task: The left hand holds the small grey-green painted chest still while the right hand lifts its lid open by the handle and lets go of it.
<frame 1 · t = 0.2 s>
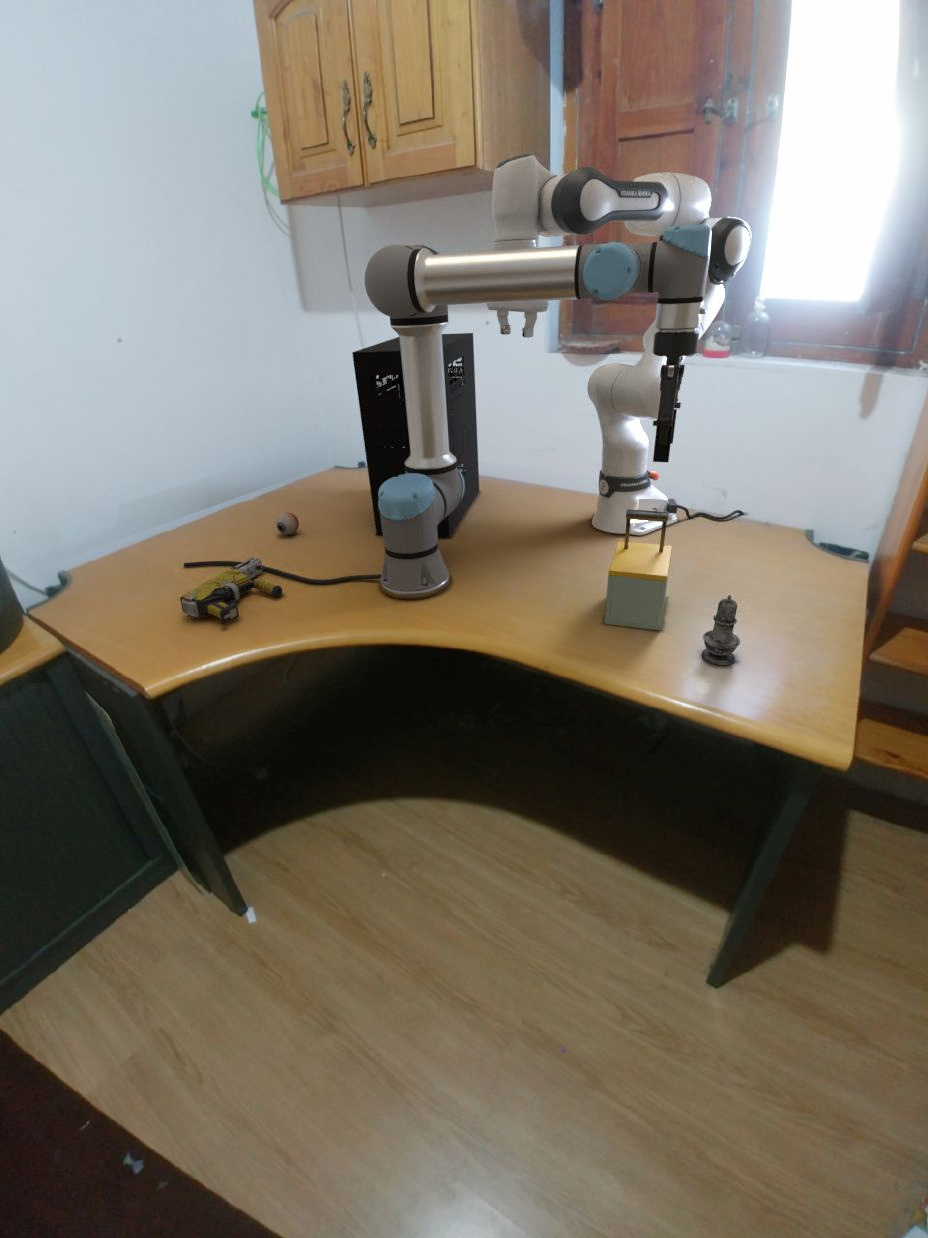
left hand: (663, 452, 116), 28 cm above the table, tool pointing down, fingers open, 13 cm apart
right hand: (516, 335, 125), 48 cm above the table, tool pointing down, fingers open, 8 cm apart
lid: (643, 540, 112), point 15 cm above the table, hinge at 0.0°
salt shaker: (717, 657, 104), on the table
chest: (635, 610, 120), on the table
yellow angle grinder: (246, 598, 133), on the table
eyeball: (289, 534, 165), on the table
black computer tower: (431, 512, 175), on the table
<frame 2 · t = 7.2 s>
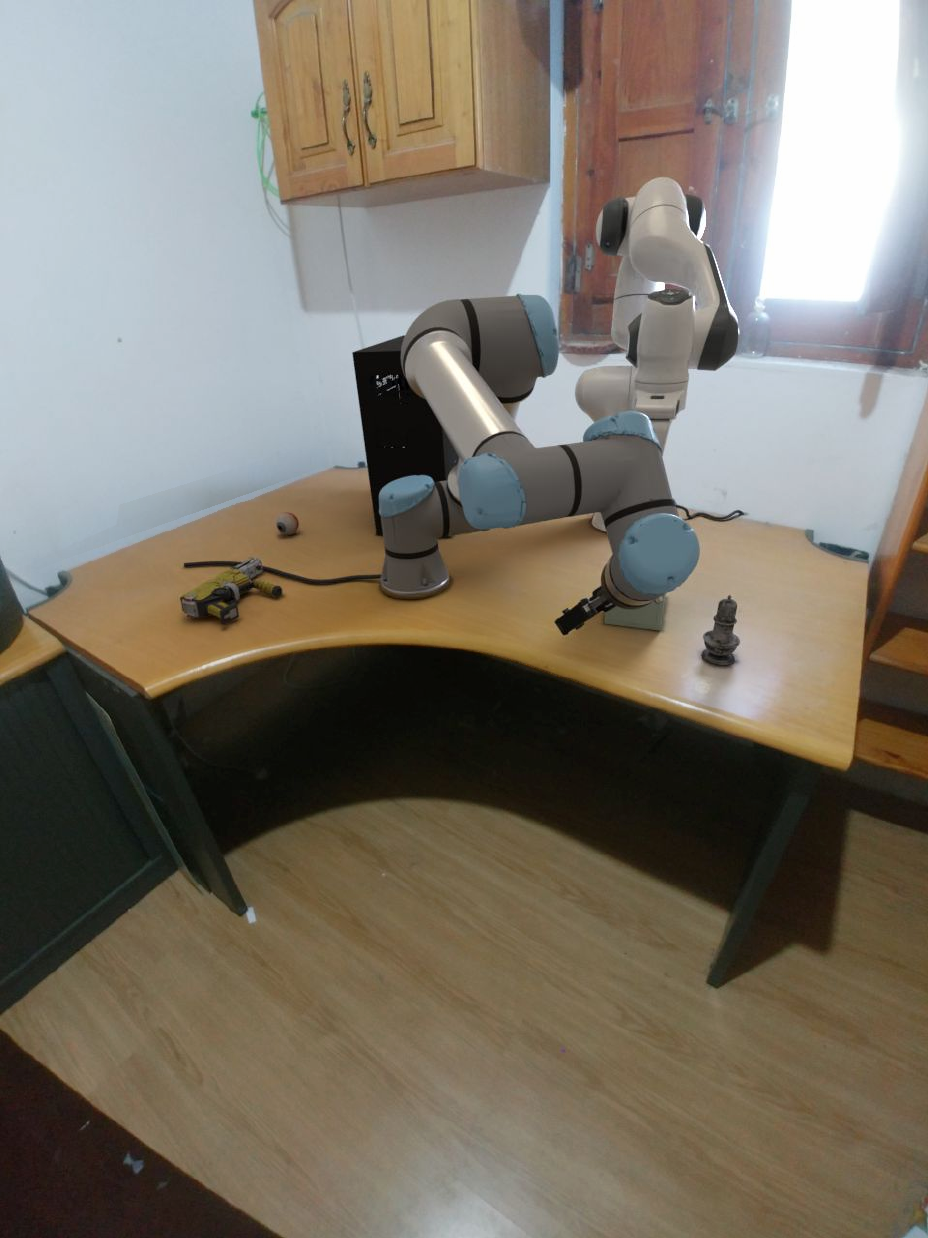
left hand: (611, 599, 95), 14 cm above the table, tool tilted 55°, fingers open, 13 cm apart
right hand: (650, 477, 110), 26 cm above the table, tool pointing down, fingers open, 8 cm apart
nothing on the table moved.
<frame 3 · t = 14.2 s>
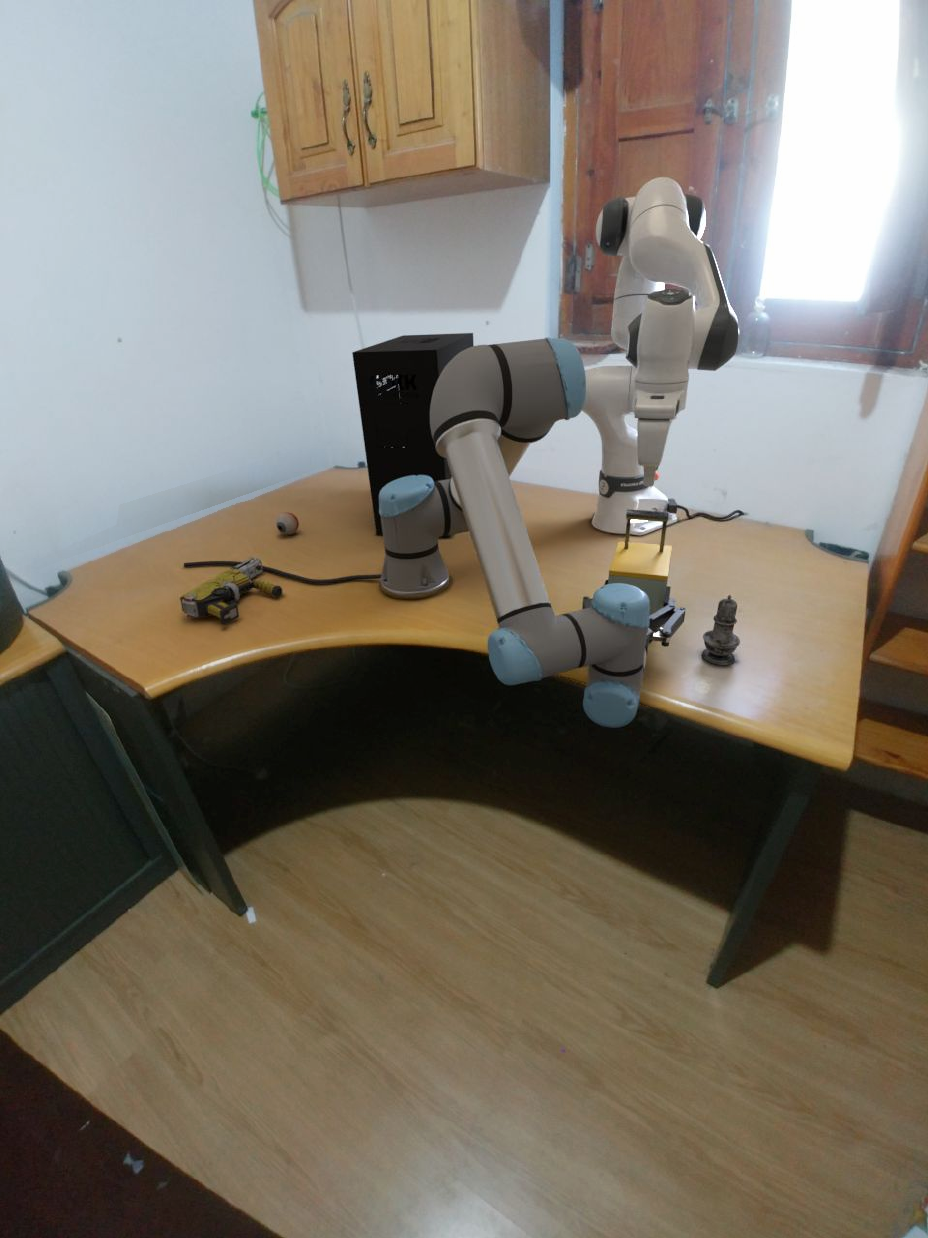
left hand: (637, 589, 113), 7 cm above the table, tool horizontal, fingers closed on chest, 10 cm apart
right hand: (650, 477, 110), 26 cm above the table, tool pointing down, fingers open, 8 cm apart
chest: (636, 610, 120), on the table, touching left hand
everything else where it was.
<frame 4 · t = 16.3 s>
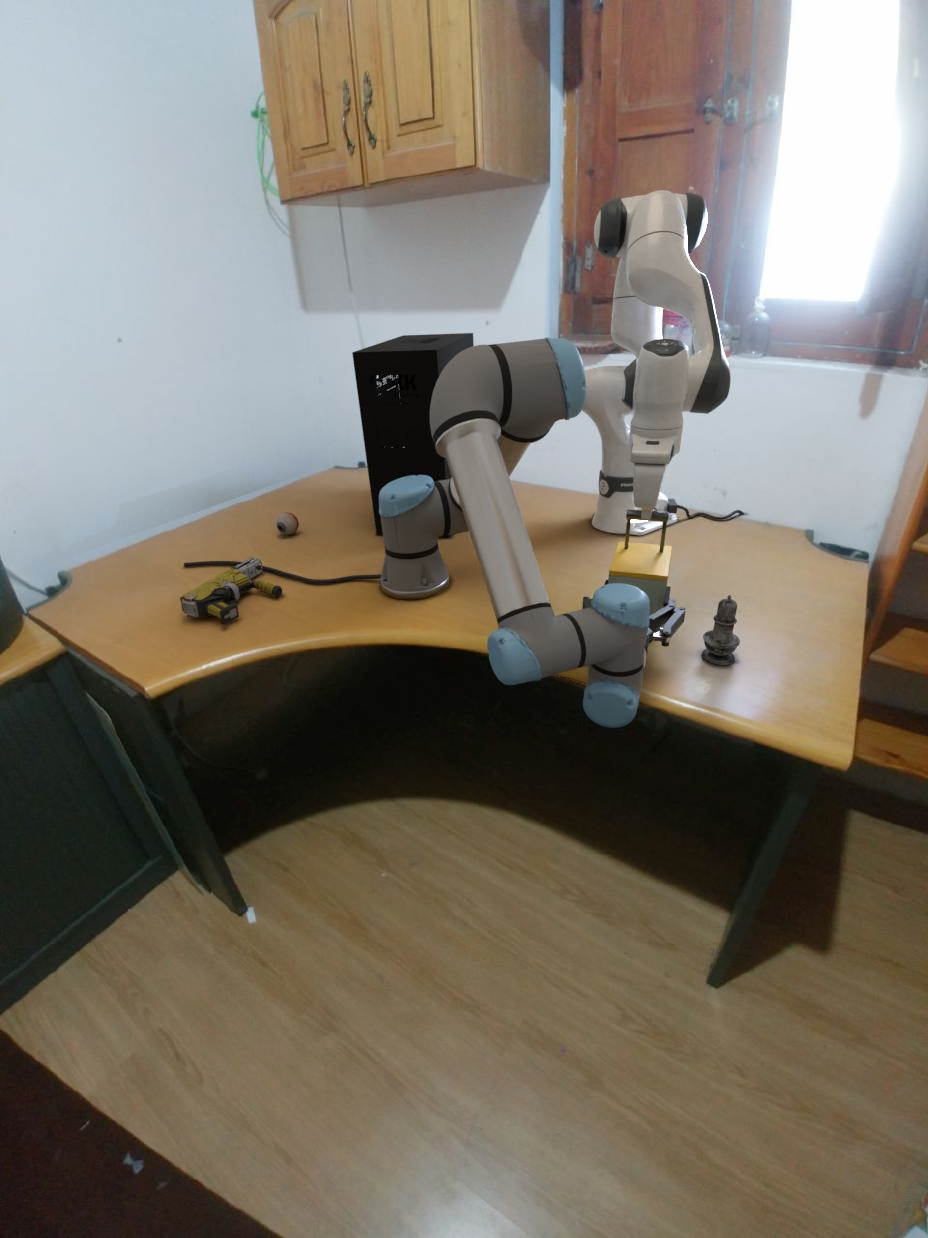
left hand: (637, 589, 113), 7 cm above the table, tool horizontal, fingers closed on chest, 10 cm apart
right hand: (646, 515, 114), 18 cm above the table, tool pointing down, fingers closed on lid, 2 cm apart
lid: (643, 540, 112), point 15 cm above the table, hinge at -0.1°, touching right hand
chest: (636, 610, 120), on the table, touching left hand
everything else where it was.
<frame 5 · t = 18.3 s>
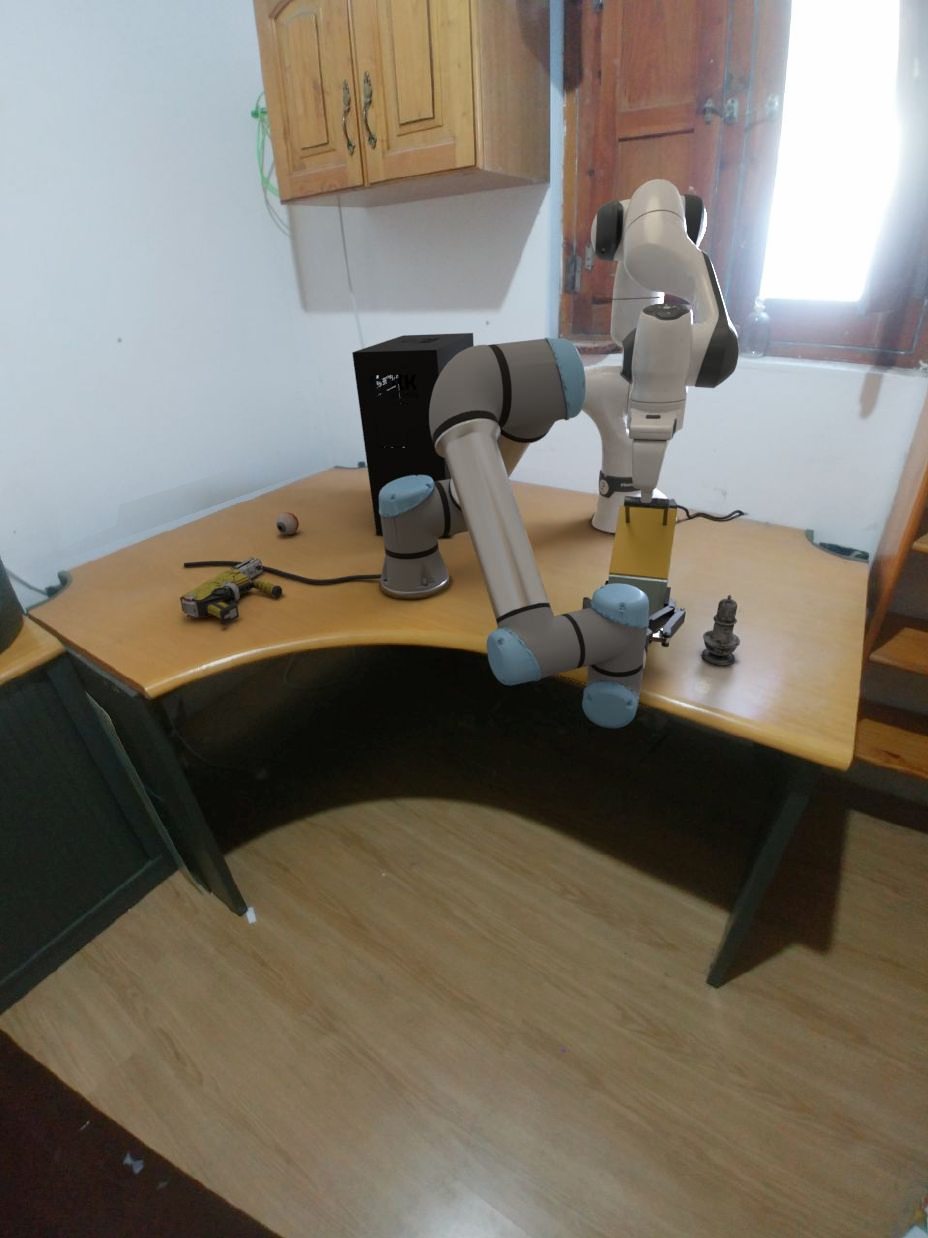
left hand: (637, 590, 113), 7 cm above the table, tool horizontal, fingers closed on chest, 10 cm apart
right hand: (646, 499, 105), 24 cm above the table, tool pointing down, fingers closed, pressing on lid
lid: (643, 531, 107), point 18 cm above the table, hinge at 40.4°, touching right hand
chest: (636, 610, 120), on the table, touching left hand
everything else where it was.
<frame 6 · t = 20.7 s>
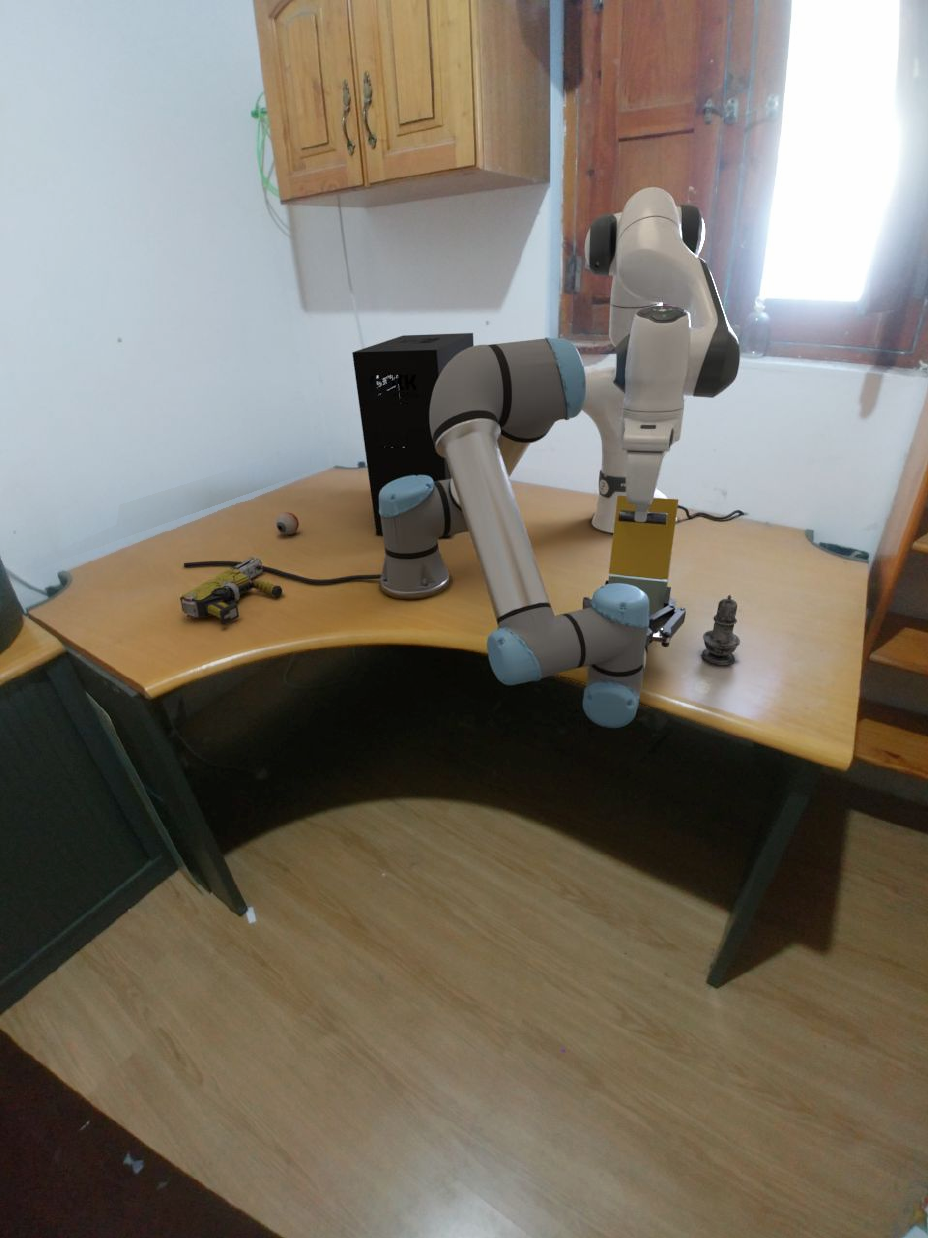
left hand: (637, 590, 113), 7 cm above the table, tool horizontal, fingers closed on chest, 10 cm apart
right hand: (642, 515, 98), 24 cm above the table, tool pointing down, fingers open, 4 cm apart
lid: (641, 538, 103), point 19 cm above the table, hinge at 71.4°, touching right hand
chest: (636, 610, 120), on the table, touching left hand
everything else where it was.
when the left hand's fingers open (7 cm above the table, at t = 24.0 s): chest stays where it is, on the table.
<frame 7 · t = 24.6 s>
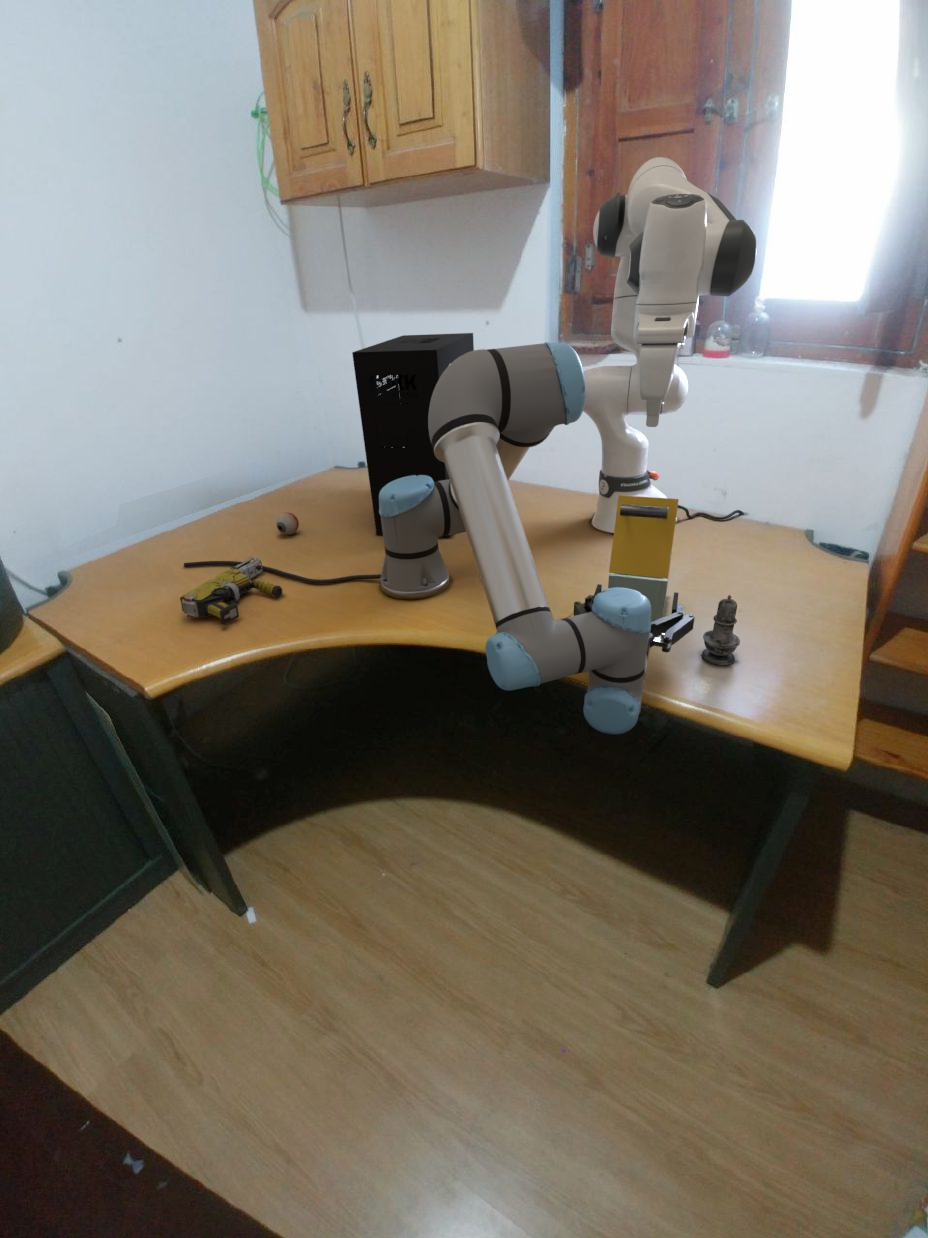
left hand: (636, 594, 111), 7 cm above the table, tool horizontal, fingers open, 13 cm apart
right hand: (654, 419, 98), 38 cm above the table, tool pointing down, fingers open, 8 cm apart
lid: (642, 535, 104), point 19 cm above the table, hinge at 64.8°
chest: (636, 610, 120), on the table
everything else where it was.
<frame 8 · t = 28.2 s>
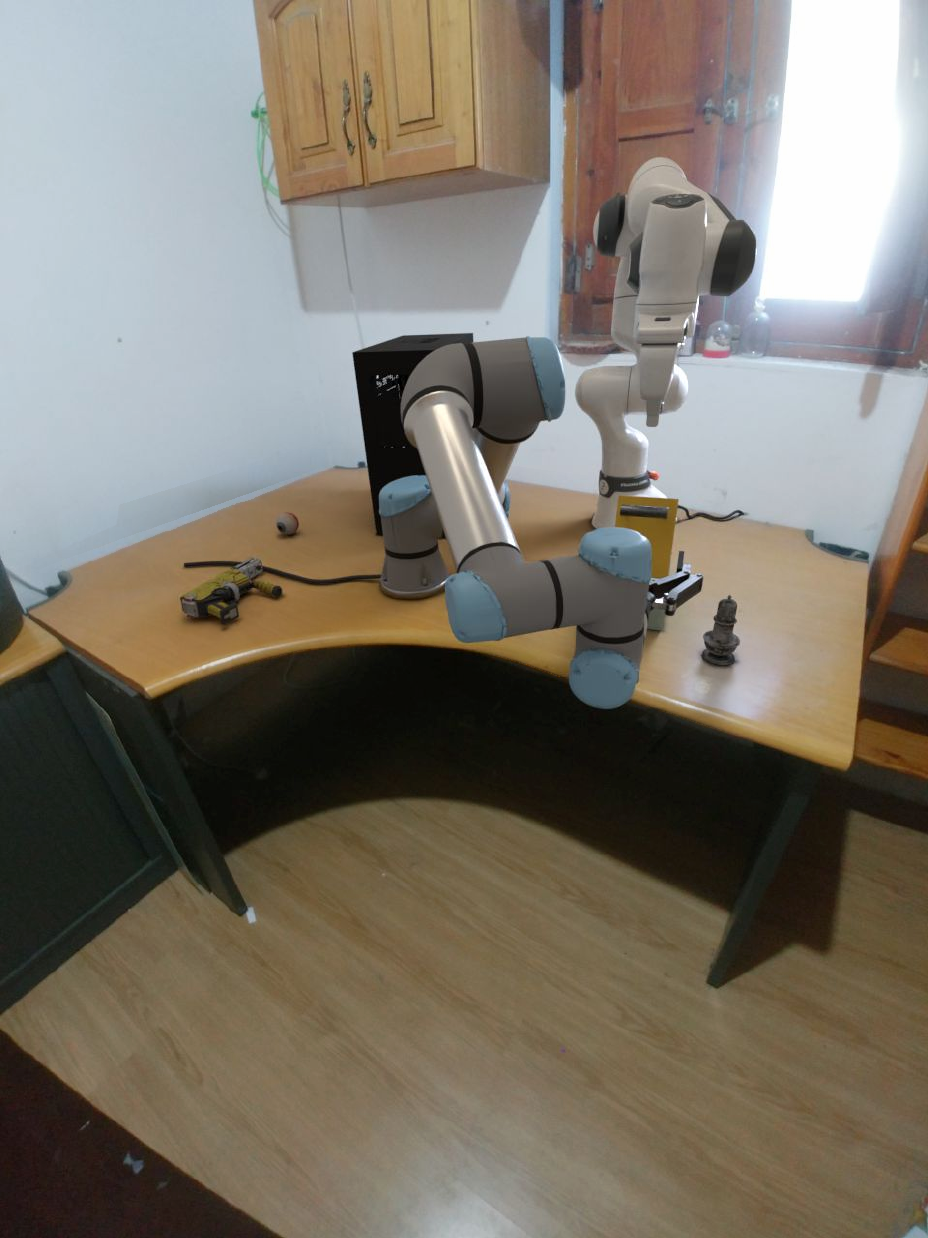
left hand: (635, 554, 96), 20 cm above the table, tool horizontal, fingers open, 13 cm apart
right hand: (654, 419, 98), 38 cm above the table, tool pointing down, fingers open, 8 cm apart
nothing on the table moved.
at the end: lid at +65° (first picture: +0°); the left hand is holding nothing; the right hand is holding nothing; chest tilted 0°; chest never tilted more than 1° during the clip; chest moved 0.1 cm from its start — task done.
